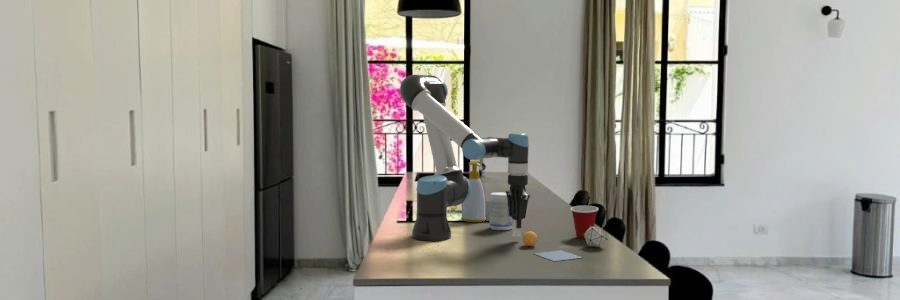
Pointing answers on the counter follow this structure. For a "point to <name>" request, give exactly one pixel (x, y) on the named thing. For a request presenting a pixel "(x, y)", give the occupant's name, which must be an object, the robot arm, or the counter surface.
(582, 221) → the plastic cup
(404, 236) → the counter surface
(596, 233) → the game die
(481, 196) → the soap bottle
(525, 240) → the ball
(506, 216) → the supplement tub
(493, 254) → the counter surface
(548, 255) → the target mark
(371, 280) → the counter surface
